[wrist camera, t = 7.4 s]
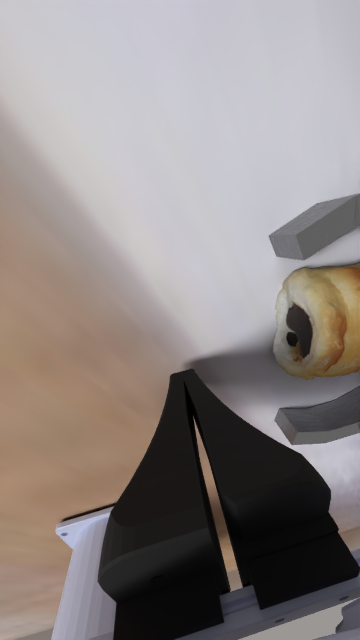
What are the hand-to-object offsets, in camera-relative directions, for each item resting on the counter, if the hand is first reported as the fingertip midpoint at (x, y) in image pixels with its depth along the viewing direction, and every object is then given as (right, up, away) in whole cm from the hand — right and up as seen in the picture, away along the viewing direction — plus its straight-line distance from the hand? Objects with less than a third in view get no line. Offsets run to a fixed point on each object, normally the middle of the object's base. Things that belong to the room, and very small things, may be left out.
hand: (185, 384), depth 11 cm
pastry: (+9, +5, +1) cm, 10 cm away
